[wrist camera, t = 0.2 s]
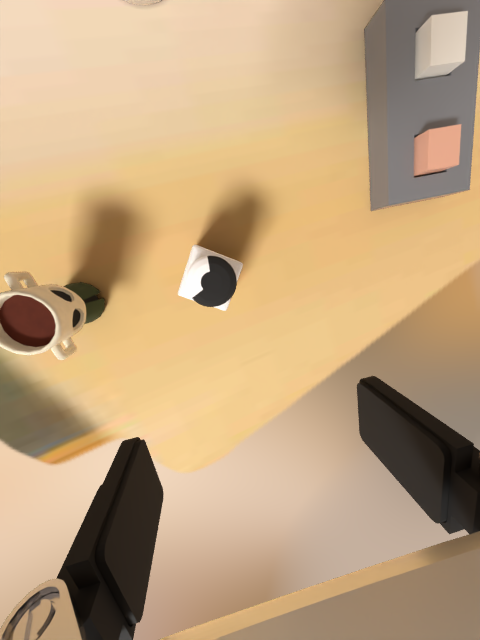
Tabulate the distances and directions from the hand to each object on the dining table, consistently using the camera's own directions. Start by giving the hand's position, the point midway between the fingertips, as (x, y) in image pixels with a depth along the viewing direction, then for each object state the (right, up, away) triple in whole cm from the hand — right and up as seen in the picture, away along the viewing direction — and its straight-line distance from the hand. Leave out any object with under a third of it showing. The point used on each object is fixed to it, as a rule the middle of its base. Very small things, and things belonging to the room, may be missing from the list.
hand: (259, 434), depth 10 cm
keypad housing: (+26, +36, +27) cm, 52 cm away
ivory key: (+25, +41, +22) cm, 53 cm away
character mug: (-25, +8, +27) cm, 38 cm away
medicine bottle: (-6, +12, +29) cm, 32 cm away
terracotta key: (+27, +30, +26) cm, 48 cm away
